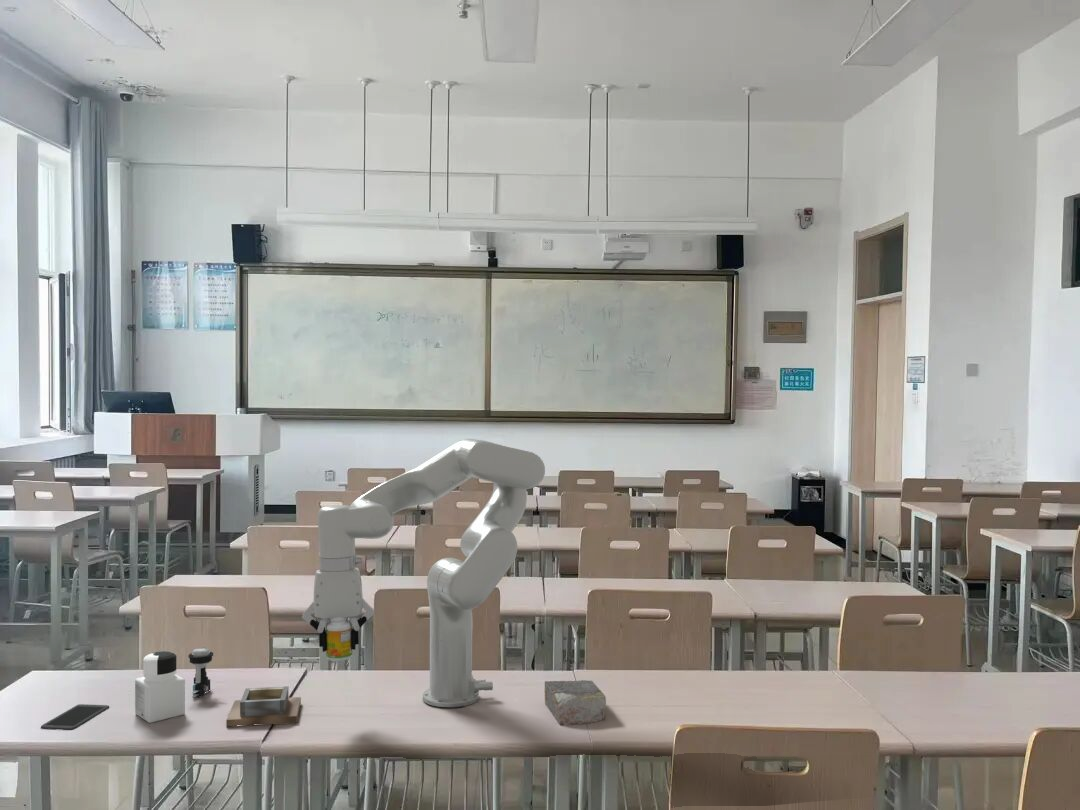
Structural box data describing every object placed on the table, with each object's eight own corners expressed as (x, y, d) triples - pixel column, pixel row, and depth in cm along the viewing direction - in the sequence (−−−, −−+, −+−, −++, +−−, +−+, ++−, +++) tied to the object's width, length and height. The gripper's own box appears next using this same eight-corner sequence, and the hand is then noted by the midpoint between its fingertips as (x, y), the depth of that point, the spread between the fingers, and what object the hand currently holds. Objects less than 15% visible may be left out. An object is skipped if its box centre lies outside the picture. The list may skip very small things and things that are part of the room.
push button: (204, 699, 208) (204, 655, 208) (181, 699, 208) (181, 654, 208) (217, 690, 214) (217, 647, 214) (194, 689, 215) (194, 646, 214)
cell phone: (110, 708, 203) (110, 705, 203) (72, 731, 189) (72, 728, 189) (78, 707, 204) (78, 703, 203) (38, 730, 190) (38, 726, 190)
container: (170, 705, 204) (170, 646, 204) (185, 714, 198) (185, 654, 198) (134, 714, 198) (134, 653, 198) (149, 723, 193) (149, 661, 193)
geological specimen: (590, 677, 210) (609, 695, 196) (589, 705, 210) (608, 725, 196) (544, 679, 208) (560, 697, 194) (543, 706, 208) (559, 727, 193)
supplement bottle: (321, 658, 197) (320, 612, 197) (342, 652, 201) (341, 607, 201) (336, 663, 193) (335, 616, 193) (357, 657, 197) (356, 611, 197)
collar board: (300, 703, 206) (300, 683, 205) (296, 723, 194) (296, 701, 194) (234, 707, 203) (234, 686, 203) (226, 727, 191) (226, 705, 191)
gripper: (378, 558, 202) (380, 641, 202) (296, 562, 199) (298, 646, 199) (378, 565, 194) (380, 651, 195) (294, 569, 191) (296, 657, 192)
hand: (339, 648), depth 197 cm, fingers closed on supplement bottle, 5 cm apart
